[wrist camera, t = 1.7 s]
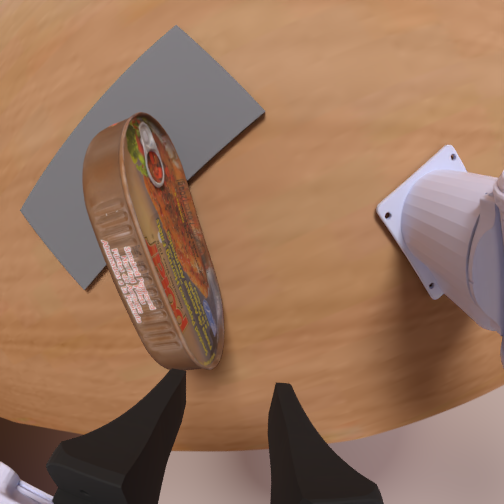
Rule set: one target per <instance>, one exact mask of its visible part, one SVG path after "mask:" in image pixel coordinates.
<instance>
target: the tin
mask: <svg viewBox="0 0 504 504" xmlns="http://www.w3.org/2000/svg"><path fill="white" fill-rule="evenodd" d="M82 185H83V194H84V201H85V206H86V210H87V213H88V216H89V220H90V222H91V225H92V228H93V231H94V233H95V236H96V239H97V242H98V244H99V247H100V249H101V252H102V255H103V257H104V260H105V262H106V265H107V267H108V270H109V272H110V274H111V277H112V279H113V282H114V284H115V286H116V288H117V291H118V293H119V295H120V297H121V300H122V302H123V304H124V306H125V308H126V310H127V312H128V314H129V316H130V319H131V321H132V323H133V325H134V327H135V329H136V331H137V333H138V335H139V337H140V339H141V341H142V343H143V344H144V346H145V348H146V350H147V351H148V353H149V354H150V355H151V357H152V358H153V359H154V360H155V361H156V362H157V363H158V364H160V365H161V366H163V367H164V368H167V369H170V370H171V369H172V368H173V369H179V370H192V369H202V368H203V369H213V368H215V367H216V366H217V365H218V363H219V362H220V359H221V356H222V352H223V346H224V319H223V307H222V300H221V295H220V290H219V286H218V282H217V278H216V274H215V271H214V268H213V265H212V262H211V259H210V255H209V252H208V249H207V246H206V243H205V240H204V237H203V233H202V230H201V227H200V224H199V220H198V217H197V214H196V211H195V207H194V204H193V200H192V197H191V194H190V190H189V187H188V183H187V180H186V177H185V173H184V170H183V167H182V164H181V161H180V159H179V156H178V154H177V152H176V149H175V147H174V145H173V143H172V141H171V139H170V137H169V135H168V134H167V132H166V131H165V129H164V128H163V127H162V126H161V124H160V123H159V122H158V121H157V120H156V119H155V118H154V117H152V116H151V115H150V114H147V113H145V112H138V113H135V114H133V115H132V116H131V117H130V118H128V119H125V120H123V121H121V122H118V123H116V124H113V125H111V126H109V127H107V128H105V129H104V130H102V131H100V132H99V133H98V134H97V135H96V136H95V137H94V138H93V139H92V141H91V142H90V144H89V146H88V148H87V151H86V154H85V158H84V162H83V172H82Z"/></svg>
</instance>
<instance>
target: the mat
mask: <svg viewBox="0 0 504 504" xmlns="http://www.w3.org/2000/svg"><path fill="white" fill-rule="evenodd" d="M138 112H145V113H147V114H150V115H151V116H152V117H154V118H155V119H156V120H157V121H158V122H159V123H160V124H161V126H162V127H163V128H164V129H165V131H166V132H167V134H168V135H169V137H170V139H171V141H172V143H173V145H174V147H175V149H176V152H177V154H178V156H179V159H180V161H181V164H182V167H183V170H184V173H185V177H186V180H187V181H188V180H189V179H190V178H191V177H192V176H194V175H195V174H196V173H197V172H198V171H199V170H200V169H201V168H202V167H203V166H204V165H205V164H206V163H207V162H209V161H210V160H211V159H212V158H213V157H214V156H215V155H216V154H217V153H218V152H220V151H221V150H222V149H223V148H224V147H225V146H226V145H227V144H229V143H230V142H231V141H232V140H233V139H234V138H235V137H237V136H238V135H239V134H240V133H241V132H242V131H243V130H245V129H246V128H247V127H248V126H249V125H251V124H252V123H253V122H254V121H255V120H256V119H258V118H259V117H260V116H261V115H262V114H264V113H265V110H264V109H263V108H262V107H261V106H260V105H259V104H258V103H257V102H256V101H255V100H254V99H253V98H252V97H251V96H250V95H249V94H248V92H247V91H246V90H245V89H244V88H243V87H242V86H241V85H240V84H239V83H238V82H237V81H236V80H235V79H234V78H233V77H232V76H231V75H230V74H229V73H228V72H227V71H226V70H225V69H224V68H223V67H222V66H220V65H219V64H218V63H217V62H216V61H215V60H214V59H213V58H212V57H211V56H210V55H209V54H208V53H207V52H206V51H205V50H204V49H203V48H201V47H200V46H199V45H198V44H197V43H196V42H195V41H194V40H193V39H192V38H190V37H189V36H188V35H187V34H186V33H185V32H184V31H183V30H181V29H180V28H179V27H178V26H177V25H175V26H174V27H173V28H172V29H171V30H169V31H168V32H167V33H166V34H165V35H164V36H162V37H161V38H160V39H159V40H158V41H157V42H156V43H155V44H153V45H152V46H151V47H150V48H149V49H148V50H147V51H146V52H145V53H144V54H143V55H142V56H141V57H139V58H138V59H137V60H136V61H135V62H134V63H133V64H132V65H131V66H130V67H129V68H128V69H127V70H126V71H125V72H124V73H123V74H122V75H121V76H120V77H119V79H118V80H117V81H116V82H115V83H114V84H113V85H112V86H111V87H110V88H109V89H108V90H107V91H106V93H105V94H104V95H103V96H102V97H101V98H100V99H99V100H98V102H97V103H96V104H95V105H94V106H93V107H92V109H91V110H90V111H89V112H88V113H87V115H86V116H85V117H84V118H83V119H82V121H81V122H80V123H79V124H78V126H77V127H76V128H75V129H74V131H73V132H72V133H71V135H70V136H69V137H68V139H67V140H66V141H65V143H64V144H63V145H62V147H61V148H60V149H59V151H58V152H57V154H56V155H55V156H54V158H53V159H52V161H51V162H50V164H49V165H48V167H47V168H46V170H45V171H44V173H43V174H42V176H41V177H40V179H39V180H38V182H37V183H36V185H35V187H34V188H33V190H32V191H31V193H30V195H29V196H28V198H27V200H26V201H25V203H24V205H23V206H22V208H21V210H20V211H21V212H22V214H23V215H24V216H25V218H26V219H27V221H28V222H29V223H30V225H31V226H32V227H33V229H34V230H35V231H36V233H37V234H38V235H39V237H40V238H41V239H42V240H43V242H44V243H45V244H46V245H47V247H48V248H49V249H50V250H51V252H52V253H53V254H54V255H55V257H56V258H57V259H58V260H59V261H60V263H61V264H62V265H63V266H64V267H65V269H66V270H67V271H68V272H69V273H70V274H71V276H72V277H73V278H74V279H75V280H76V281H77V282H78V284H79V285H80V286H81V287H82V288H83V289H84V290H85V289H86V288H87V287H88V286H89V285H90V284H91V283H92V281H93V280H94V279H95V278H96V277H97V276H98V274H99V273H100V272H101V271H102V270H103V269H104V268H105V266H106V262H105V260H104V257H103V255H102V252H101V249H100V247H99V244H98V242H97V239H96V236H95V233H94V231H93V228H92V225H91V222H90V220H89V216H88V213H87V210H86V206H85V201H84V194H83V185H82V172H83V162H84V158H85V154H86V151H87V148H88V146H89V144H90V142H91V141H92V139H93V138H94V137H95V136H96V135H97V134H98V133H99V132H100V131H102V130H104V129H105V128H107V127H109V126H111V125H113V124H116V123H118V122H121V121H123V120H125V119H128V118H130V117H131V116H132V115H133V114H135V113H138Z"/></svg>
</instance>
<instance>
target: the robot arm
mask: <svg viewBox="0 0 504 504" xmlns="http://www.w3.org/2000/svg"><path fill="white" fill-rule="evenodd" d="M451 155H453V160H452V159H451ZM376 212H377V214H378V216H379V217H380V218H381V220H382V221H383V223H384V224H385V226H386V227H387V229H388V230H389V231H390V233H391V234H392V236H393V237H394V239H395V240H396V242H397V243H398V245H399V246H400V248H401V250H402V251H403V253H404V254H405V256H406V257H407V259H408V261H409V262H410V264H411V265H412V267H413V268H414V270H415V272H416V273H417V275H418V277H419V278H420V280H421V282H422V283H423V285H424V287H425V288H426V290H427V292H428V294H429V295H430V297H431V298H432V299H434V300H436V299H438V298H440V297H441V296H442V295H443V294H445V295H446V296H447V297H448V298H450V299H451V300H452V301H453V302H454V303H455V304H456V305H457V306H459V307H460V308H461V309H462V310H463V311H464V312H465V313H466V314H467V315H468V316H469V317H470V318H472V319H473V320H474V321H475V322H476V323H477V324H478V325H479V326H481V327H482V328H484V329H487V330H491V331H497V332H498V333H499V334H500V335H501V336H503V338H502V344H501V352H500V355H501V362H502V365H503V368H504V171H503V172H502V174H501V175H500V177H499V178H496V177H491V176H485V175H480V174H474V173H468V172H467V170H466V169H465V167H464V165H463V163H462V161H461V159H460V158H459V156H458V154H457V152H456V151H455V149H454V147H453V146H451V145H445V146H444V147H443V148H442V149H440V150H439V151H438V152H437V153H436V154H435V155H434V156H433V157H432V158H430V159H429V160H428V161H427V162H426V163H425V164H424V165H423V166H422V167H420V168H419V169H418V170H417V171H416V172H415V173H414V174H413V175H411V176H410V177H409V178H408V179H407V180H406V181H405V182H403V183H402V184H401V185H400V186H399V187H398V188H397V189H395V190H394V191H393V192H392V193H391V194H390V195H388V196H387V197H386V198H385V199H384V200H383V201H381V202H380V203H379V204H378V205H377V208H376ZM387 212H389V214H390V215H389V217H388V218H387V219H386V218H385V214H386V213H387ZM431 283H432V286H431V287H429V285H430V284H431ZM185 405H186V371H184V370H179V369H173V368H172V369H171V370H170V371H169V372H168V373H167V374H166V375H165V377H164V378H163V379H162V380H161V381H160V382H159V383H158V384H157V385H156V386H155V387H154V388H153V389H152V390H151V391H150V392H149V393H148V394H147V395H146V396H145V397H144V398H143V399H142V400H140V401H139V402H138V403H137V404H136V405H135V406H133V407H132V408H131V409H129V410H128V411H127V412H125V413H124V414H122V415H121V416H120V417H118V418H116V419H115V420H113V421H111V422H110V423H108V424H106V425H104V426H102V427H101V428H98V429H96V430H94V431H92V432H89V433H87V434H85V435H82V436H80V437H76V438H73V439H70V440H66V441H62V442H61V443H60V445H59V446H58V447H57V448H56V449H55V451H54V452H53V454H52V456H51V457H50V459H49V461H48V463H47V464H46V468H47V470H48V472H49V474H50V476H51V477H52V479H53V480H54V482H55V483H56V485H57V486H58V489H57V492H56V493H55V495H54V497H53V496H51V495H49V494H47V493H45V492H43V491H41V490H39V489H37V488H35V487H33V486H31V485H30V484H28V483H26V482H24V481H22V480H21V479H20V478H19V476H18V475H17V473H16V472H15V471H14V470H13V469H11V468H10V467H9V466H7V465H5V464H4V463H2V462H0V504H158V500H159V495H160V490H161V485H162V481H163V477H164V472H165V468H166V464H167V461H168V458H169V455H170V452H171V450H172V447H173V444H174V441H175V439H176V436H177V433H178V430H179V428H180V425H181V422H182V418H183V414H184V409H185ZM268 441H269V453H270V464H271V504H384V503H383V499H382V496H381V493H380V491H379V489H378V486H377V484H375V483H374V482H372V481H370V480H369V479H367V478H366V477H364V476H363V475H361V474H360V473H358V472H357V471H355V470H354V469H353V468H352V467H350V466H349V465H348V464H347V463H346V462H345V461H343V460H342V459H341V458H340V457H339V456H338V455H337V454H336V453H335V452H334V451H333V450H332V449H331V448H330V447H329V446H328V444H327V443H326V442H325V441H324V440H323V438H322V437H321V436H320V435H319V433H318V432H317V430H316V429H315V428H314V426H313V425H312V423H311V422H310V420H309V418H308V417H307V415H306V413H305V412H304V410H303V408H302V406H301V405H300V403H299V401H298V399H297V397H296V395H295V392H294V390H293V388H292V386H291V384H287V383H276V385H275V389H274V393H273V398H272V402H271V406H270V410H269V418H268Z"/></svg>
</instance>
